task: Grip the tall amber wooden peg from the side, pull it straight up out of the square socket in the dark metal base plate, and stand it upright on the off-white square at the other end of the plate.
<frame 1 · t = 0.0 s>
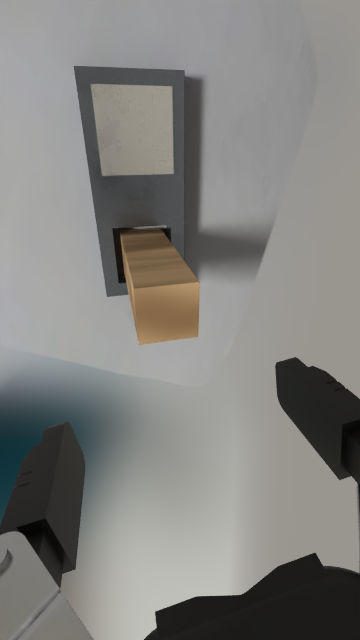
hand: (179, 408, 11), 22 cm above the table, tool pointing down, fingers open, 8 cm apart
socket plate: (137, 196, 28), on the table
wooden peg: (141, 248, 31), resting in socket plate
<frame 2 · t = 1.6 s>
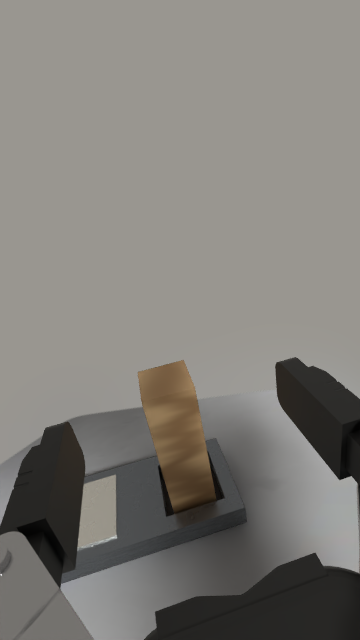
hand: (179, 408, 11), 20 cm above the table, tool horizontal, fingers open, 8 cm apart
socket plate: (142, 510, 29), on the table
wooden peg: (192, 494, 30), resting in socket plate
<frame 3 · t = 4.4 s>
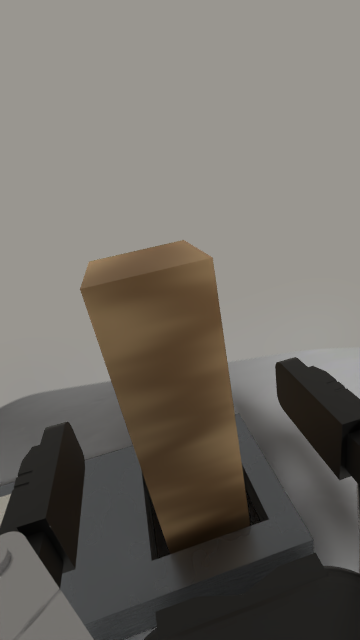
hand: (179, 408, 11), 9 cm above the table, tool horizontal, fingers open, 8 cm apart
socket plate: (111, 541, 16), on the table
wooden peg: (201, 510, 16), resting in socket plate
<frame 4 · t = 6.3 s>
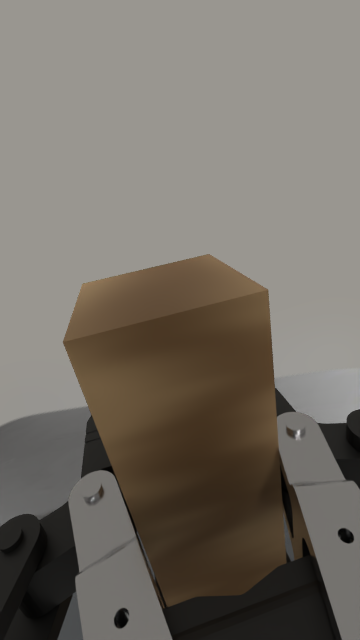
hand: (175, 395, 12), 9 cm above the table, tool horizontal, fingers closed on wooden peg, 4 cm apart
socket plate: (112, 627, 13), on the table
wooden peg: (224, 586, 13), resting in socket plate, touching gripper
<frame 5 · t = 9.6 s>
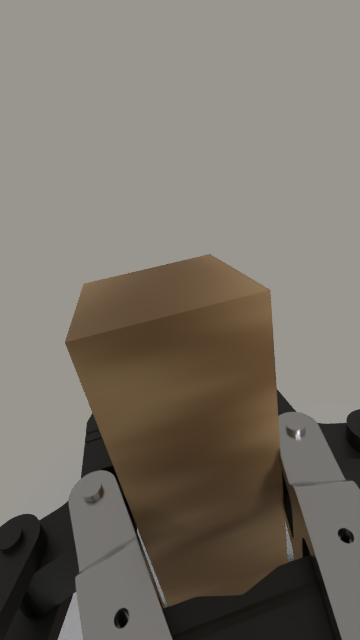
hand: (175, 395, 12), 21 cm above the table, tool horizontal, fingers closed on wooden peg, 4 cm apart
wooden peg: (225, 586, 13), point 12 cm above the table, touching gripper
when the fingers open (12 cm above the table, at t = 12.9 s): wooden peg drops 1 cm, resting on socket plate.
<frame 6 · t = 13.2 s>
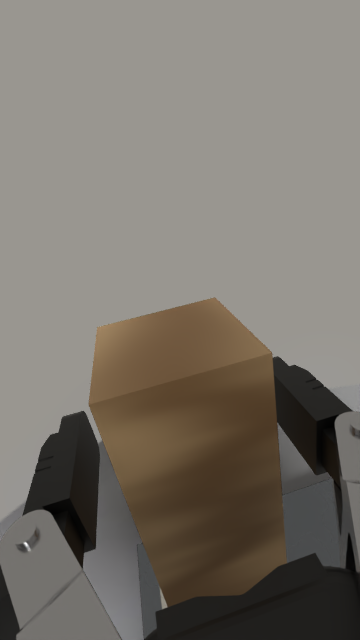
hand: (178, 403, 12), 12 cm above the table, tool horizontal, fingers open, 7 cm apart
socket plate: (326, 591, 15), on the table
wooden peg: (228, 604, 14), point 2 cm above the table, touching socket plate
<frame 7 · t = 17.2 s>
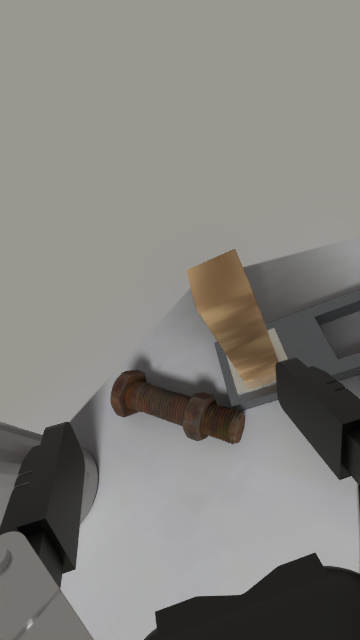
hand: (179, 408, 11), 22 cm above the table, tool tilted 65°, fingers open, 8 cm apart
socket plate: (304, 353, 33), on the table
wooden peg: (256, 359, 32), point 2 cm above the table, touching socket plate
bolt: (184, 415, 35), on the table
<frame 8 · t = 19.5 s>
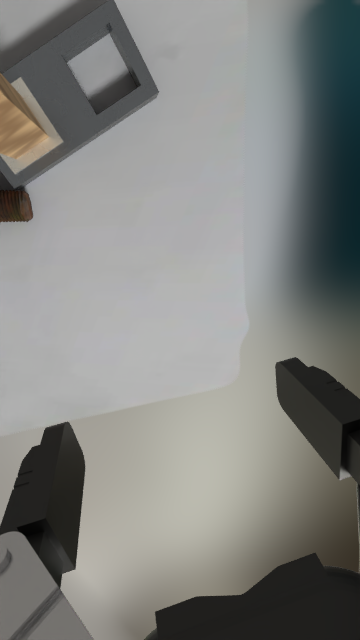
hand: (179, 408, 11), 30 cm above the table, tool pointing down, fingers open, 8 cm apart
socket plate: (63, 105, 31), on the table
wooden peg: (18, 127, 30), point 2 cm above the table, touching socket plate
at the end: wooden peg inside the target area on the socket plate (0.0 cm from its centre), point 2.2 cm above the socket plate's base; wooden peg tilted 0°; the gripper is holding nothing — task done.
